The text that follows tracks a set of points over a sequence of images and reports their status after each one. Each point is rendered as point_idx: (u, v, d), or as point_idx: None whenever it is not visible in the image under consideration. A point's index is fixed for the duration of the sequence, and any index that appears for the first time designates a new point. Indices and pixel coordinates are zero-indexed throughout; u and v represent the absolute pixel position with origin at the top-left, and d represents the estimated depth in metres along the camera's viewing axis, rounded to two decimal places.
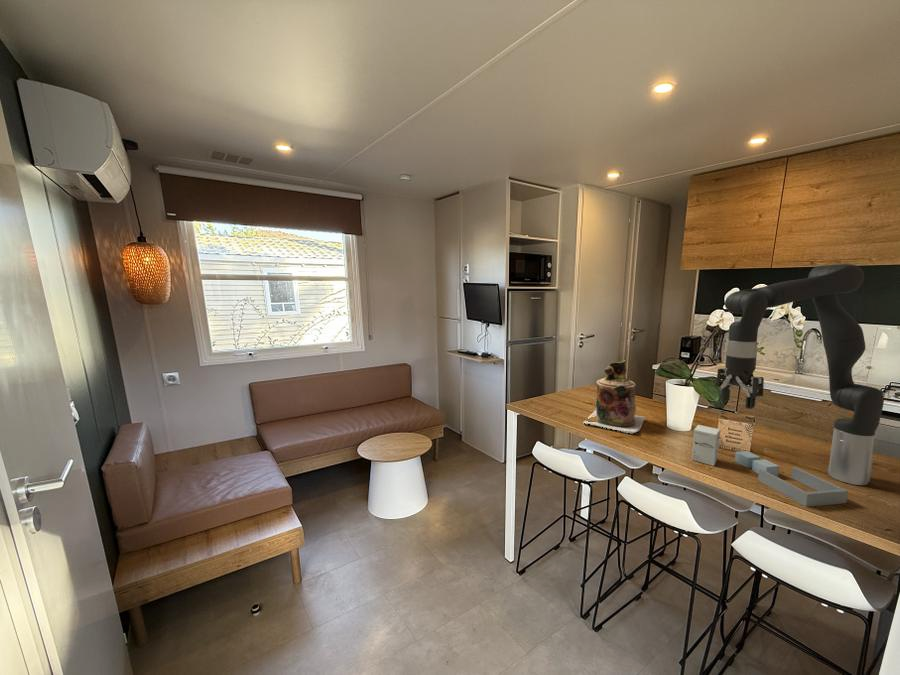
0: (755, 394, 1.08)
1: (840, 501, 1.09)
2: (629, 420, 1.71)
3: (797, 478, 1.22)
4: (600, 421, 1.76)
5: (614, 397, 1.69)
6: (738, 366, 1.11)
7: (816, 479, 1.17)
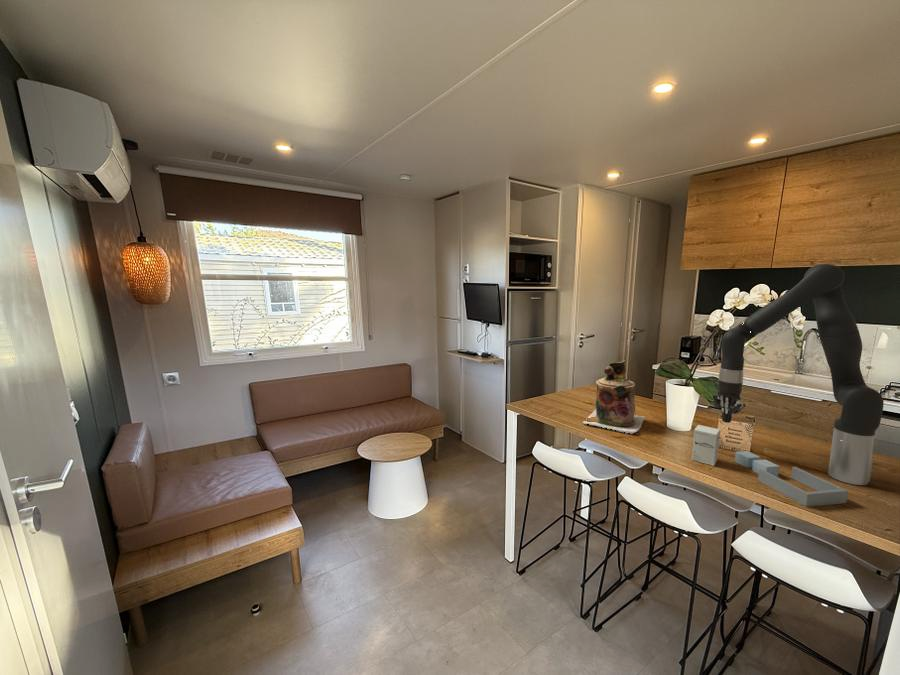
0: (731, 412, 1.39)
1: (840, 501, 1.09)
2: (629, 420, 1.71)
3: (797, 478, 1.22)
4: (600, 421, 1.76)
5: (613, 397, 1.69)
6: (727, 389, 1.38)
7: (816, 479, 1.17)
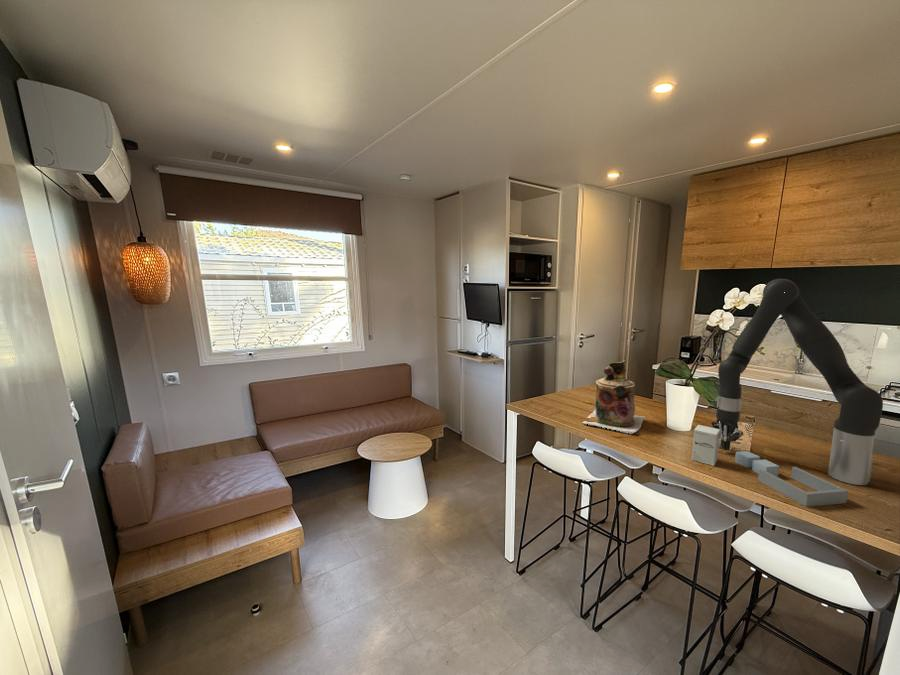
0: (729, 439, 1.40)
1: (840, 501, 1.09)
2: (628, 420, 1.71)
3: (797, 478, 1.22)
4: (599, 421, 1.76)
5: (613, 398, 1.69)
6: (726, 418, 1.40)
7: (816, 479, 1.17)
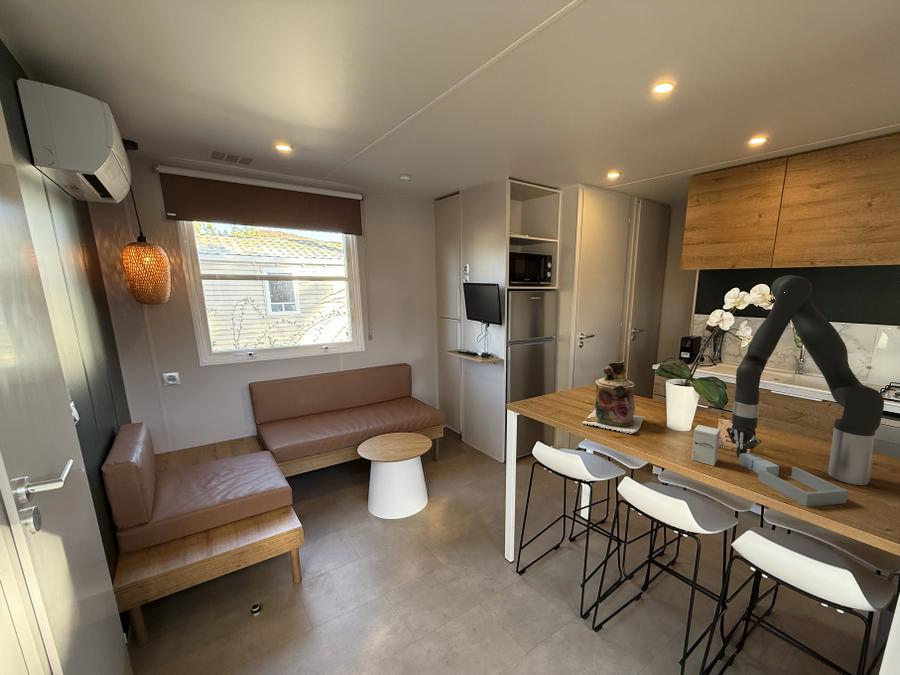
0: (746, 447, 1.33)
1: (840, 501, 1.09)
2: (628, 420, 1.71)
3: (797, 478, 1.22)
4: (599, 421, 1.76)
5: (613, 398, 1.69)
6: (742, 424, 1.33)
7: (816, 479, 1.17)
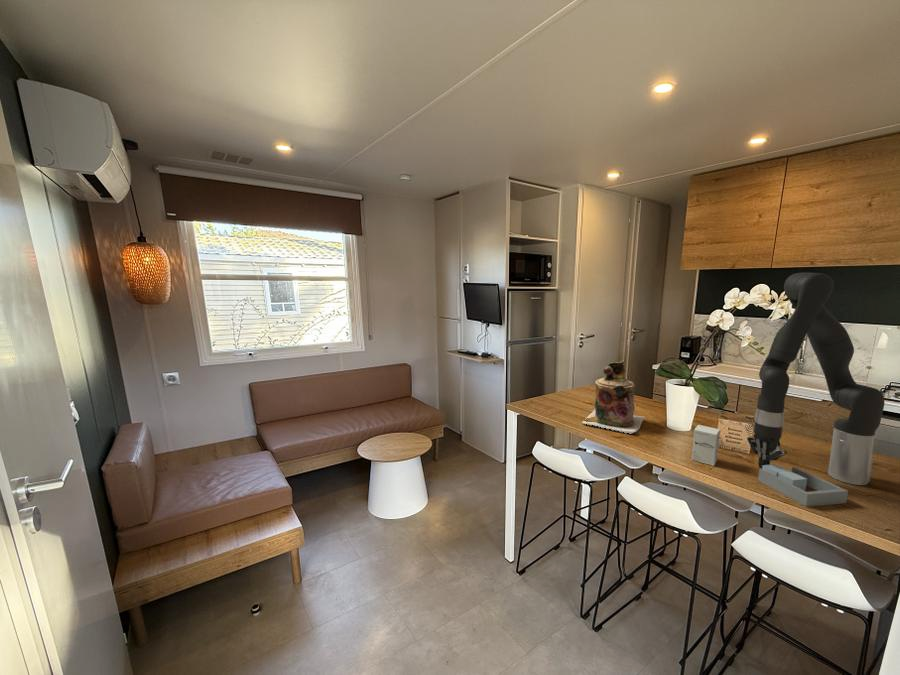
0: (770, 458, 1.25)
1: (840, 501, 1.09)
2: (628, 420, 1.71)
3: None
4: (599, 421, 1.76)
5: (612, 398, 1.69)
6: (766, 434, 1.24)
7: (816, 479, 1.17)
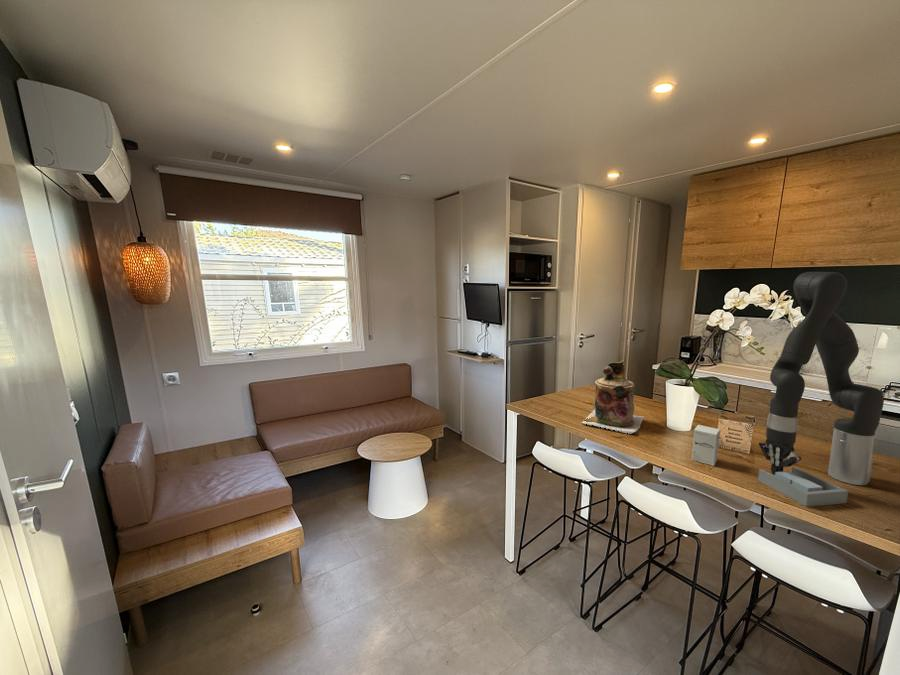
0: (783, 465, 1.20)
1: (840, 501, 1.09)
2: (628, 420, 1.71)
3: None
4: (599, 421, 1.76)
5: (612, 398, 1.69)
6: (779, 439, 1.19)
7: (816, 479, 1.17)
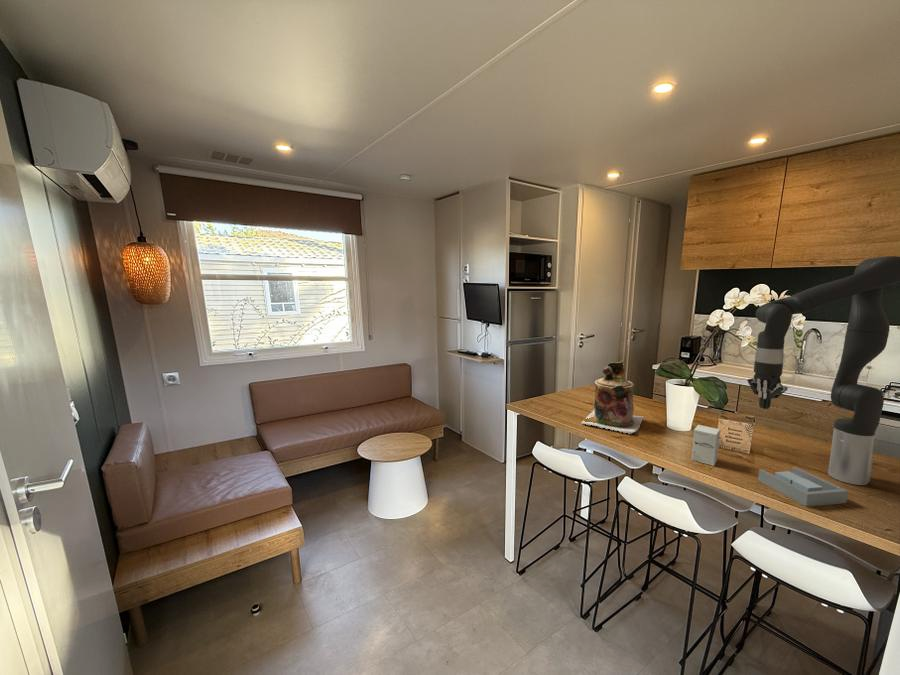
0: (771, 396, 1.24)
1: (840, 501, 1.09)
2: (627, 420, 1.71)
3: None
4: (598, 421, 1.76)
5: (612, 398, 1.69)
6: (766, 371, 1.23)
7: (816, 479, 1.17)
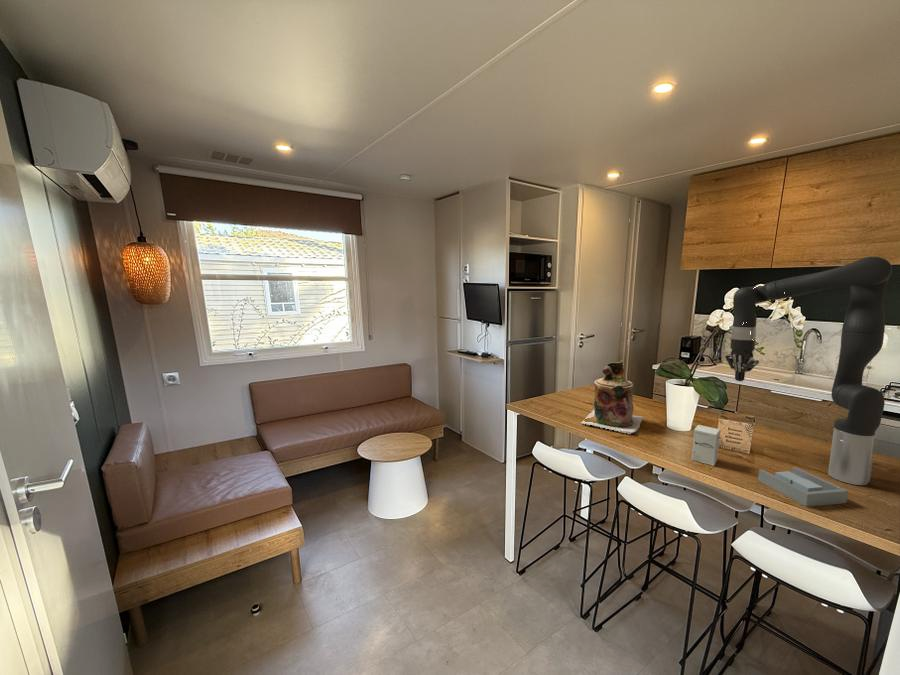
0: (744, 369, 1.40)
1: (840, 501, 1.09)
2: (627, 420, 1.71)
3: None
4: (598, 421, 1.76)
5: (612, 398, 1.69)
6: (740, 347, 1.39)
7: (816, 479, 1.17)
